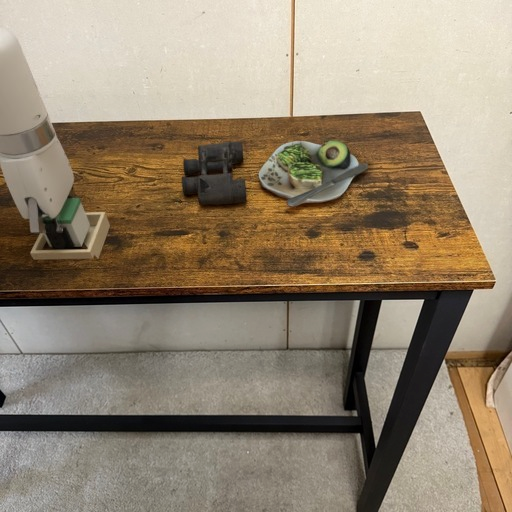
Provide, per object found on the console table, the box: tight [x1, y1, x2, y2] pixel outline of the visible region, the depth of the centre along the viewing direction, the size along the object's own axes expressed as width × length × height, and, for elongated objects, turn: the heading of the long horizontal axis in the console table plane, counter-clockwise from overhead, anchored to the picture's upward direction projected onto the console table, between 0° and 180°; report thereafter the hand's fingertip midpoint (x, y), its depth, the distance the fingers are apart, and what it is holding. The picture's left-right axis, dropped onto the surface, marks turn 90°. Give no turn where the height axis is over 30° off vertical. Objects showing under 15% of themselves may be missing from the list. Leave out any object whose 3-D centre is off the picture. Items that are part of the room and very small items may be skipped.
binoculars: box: [181, 141, 248, 206], centre depth 81 cm, size 11×16×6 cm
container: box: [43, 197, 90, 248], centre depth 70 cm, size 5×5×6 cm
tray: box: [29, 211, 111, 261], centre depth 72 cm, size 9×9×3 cm
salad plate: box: [258, 139, 369, 208], centre depth 81 cm, size 19×18×5 cm
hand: (69, 233), depth 72 cm, fingers closed on container, 5 cm apart
